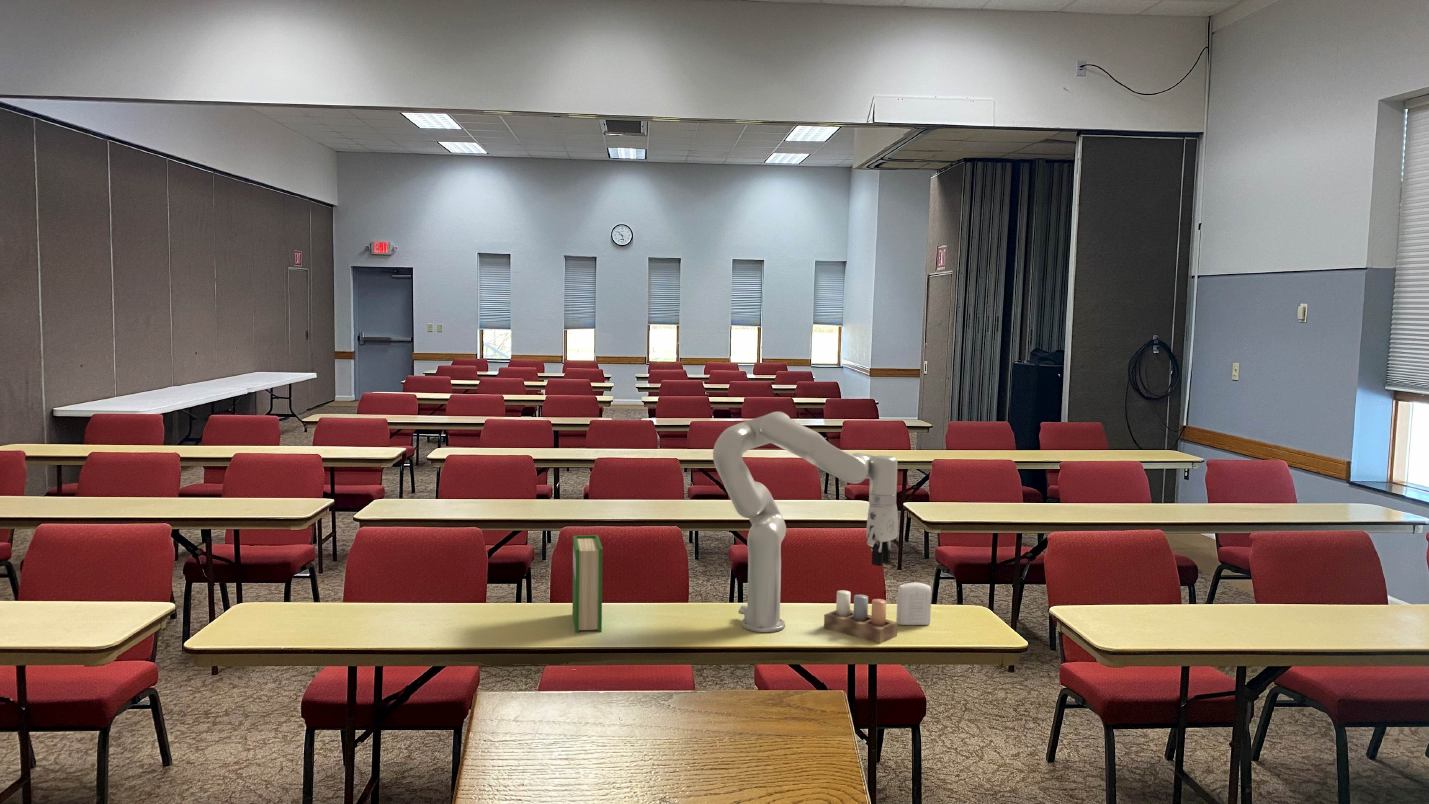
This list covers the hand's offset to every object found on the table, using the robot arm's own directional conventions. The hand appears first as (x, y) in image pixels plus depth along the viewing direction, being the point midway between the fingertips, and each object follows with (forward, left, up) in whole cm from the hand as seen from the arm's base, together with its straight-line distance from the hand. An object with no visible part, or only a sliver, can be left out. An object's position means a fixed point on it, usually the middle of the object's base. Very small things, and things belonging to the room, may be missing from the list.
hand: (880, 563), depth 257 cm
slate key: (-6, 0, -18) cm, 19 cm away
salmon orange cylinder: (0, 0, -18) cm, 18 cm away
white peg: (-12, 0, -18) cm, 21 cm away
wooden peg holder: (-6, 0, -21) cm, 22 cm away
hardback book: (-67, -51, -21) cm, 87 cm away
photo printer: (+1, +18, -21) cm, 28 cm away
